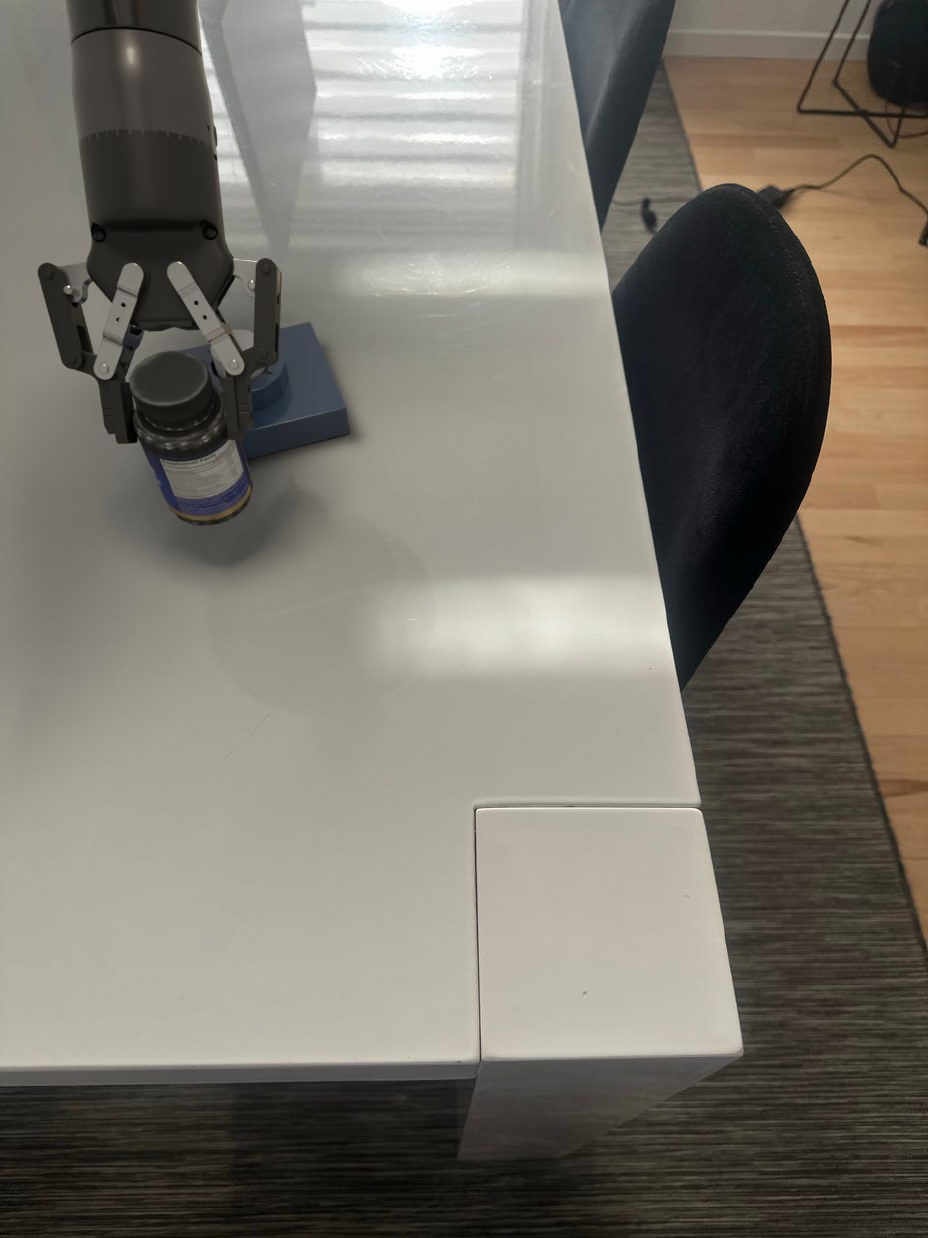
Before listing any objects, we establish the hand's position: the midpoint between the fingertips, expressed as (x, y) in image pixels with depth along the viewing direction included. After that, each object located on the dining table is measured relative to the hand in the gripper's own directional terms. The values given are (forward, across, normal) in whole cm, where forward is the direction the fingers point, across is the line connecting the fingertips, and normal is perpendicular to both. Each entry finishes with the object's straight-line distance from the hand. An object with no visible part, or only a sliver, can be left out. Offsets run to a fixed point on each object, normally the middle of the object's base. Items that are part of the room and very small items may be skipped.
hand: (182, 440), depth 52 cm
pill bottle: (+4, 0, +6) cm, 8 cm away
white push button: (-5, +1, +17) cm, 17 cm away
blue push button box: (-2, +1, +20) cm, 20 cm away
